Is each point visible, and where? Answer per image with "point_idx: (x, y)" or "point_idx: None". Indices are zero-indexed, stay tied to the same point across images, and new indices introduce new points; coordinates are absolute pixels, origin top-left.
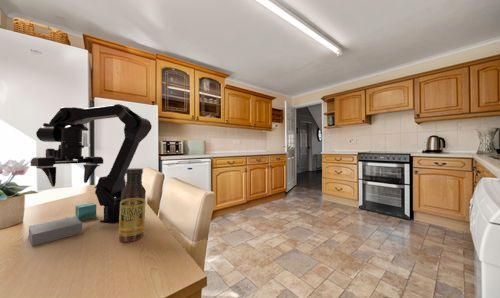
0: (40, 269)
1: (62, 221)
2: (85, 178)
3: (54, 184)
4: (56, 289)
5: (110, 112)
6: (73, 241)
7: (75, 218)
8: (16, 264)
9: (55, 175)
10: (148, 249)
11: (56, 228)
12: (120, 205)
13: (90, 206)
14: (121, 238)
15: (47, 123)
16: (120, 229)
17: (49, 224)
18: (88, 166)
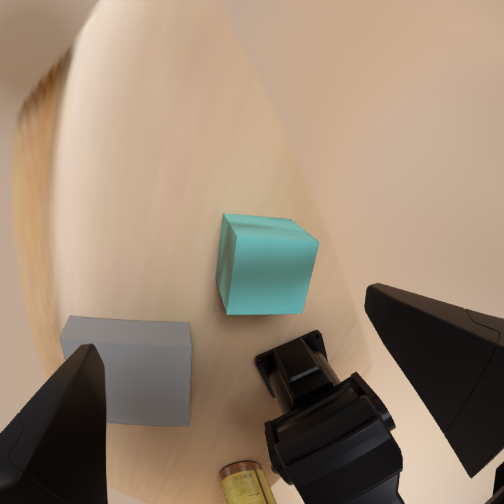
0: (117, 470)
1: (147, 377)
2: (392, 333)
3: (100, 388)
4: (135, 496)
5: None
6: (161, 431)
7: (186, 375)
8: None
9: (103, 495)
10: None
11: (130, 421)
12: None
13: (275, 311)
14: (221, 479)
15: None
16: (224, 492)
17: (113, 377)
18: (493, 432)
